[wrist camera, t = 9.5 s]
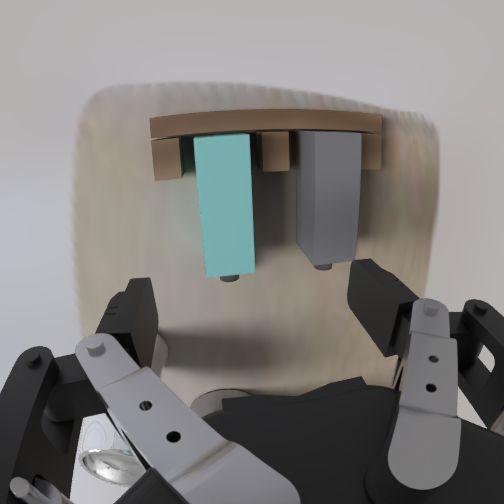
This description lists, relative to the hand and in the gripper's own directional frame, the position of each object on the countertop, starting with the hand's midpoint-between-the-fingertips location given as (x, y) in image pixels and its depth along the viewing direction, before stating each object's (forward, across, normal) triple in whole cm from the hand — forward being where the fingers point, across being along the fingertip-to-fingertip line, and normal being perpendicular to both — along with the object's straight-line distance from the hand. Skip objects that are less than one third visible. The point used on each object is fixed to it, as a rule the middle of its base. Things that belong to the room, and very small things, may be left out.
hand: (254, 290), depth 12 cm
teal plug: (+15, 0, -1) cm, 15 cm away
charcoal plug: (+15, -8, -1) cm, 17 cm away
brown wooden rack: (+15, -4, -5) cm, 16 cm away
